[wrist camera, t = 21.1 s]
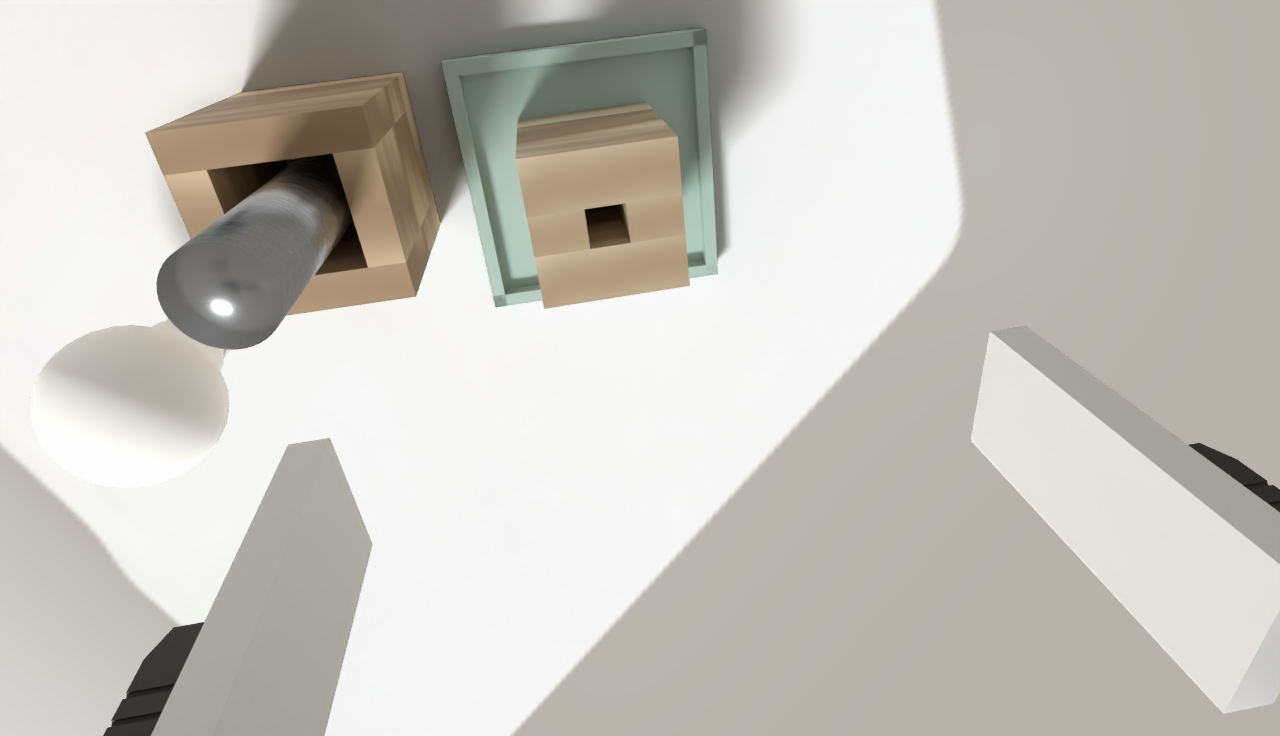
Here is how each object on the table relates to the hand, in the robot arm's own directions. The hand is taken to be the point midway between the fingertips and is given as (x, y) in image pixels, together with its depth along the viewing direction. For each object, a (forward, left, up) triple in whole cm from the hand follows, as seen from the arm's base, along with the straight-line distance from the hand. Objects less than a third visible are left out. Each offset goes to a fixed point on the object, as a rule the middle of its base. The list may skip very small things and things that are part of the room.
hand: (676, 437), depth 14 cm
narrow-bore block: (0, 0, -23) cm, 23 cm away
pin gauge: (-1, -11, -22) cm, 24 cm away
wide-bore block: (-2, -11, -23) cm, 26 cm away
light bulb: (+5, -20, -24) cm, 31 cm away
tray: (0, 0, -23) cm, 23 cm away
